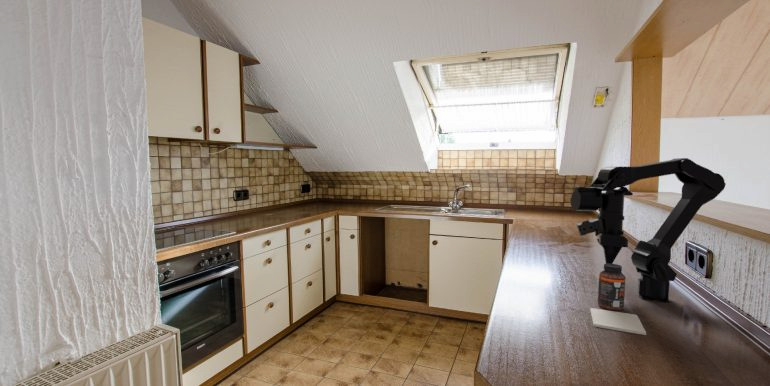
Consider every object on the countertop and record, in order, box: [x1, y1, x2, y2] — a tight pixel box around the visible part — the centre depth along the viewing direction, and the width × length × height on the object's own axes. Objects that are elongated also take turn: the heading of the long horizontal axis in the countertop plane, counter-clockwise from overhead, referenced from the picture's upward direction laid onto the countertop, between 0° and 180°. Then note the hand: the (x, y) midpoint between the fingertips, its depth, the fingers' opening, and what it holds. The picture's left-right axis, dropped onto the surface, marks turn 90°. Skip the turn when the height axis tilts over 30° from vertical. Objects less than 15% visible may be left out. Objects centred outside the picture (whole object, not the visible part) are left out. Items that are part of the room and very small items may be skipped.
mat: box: [589, 307, 647, 336], centre depth 88 cm, size 10×11×1 cm
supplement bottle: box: [597, 262, 627, 312], centre depth 97 cm, size 6×6×11 cm
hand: (608, 265), depth 105 cm, fingers closed
